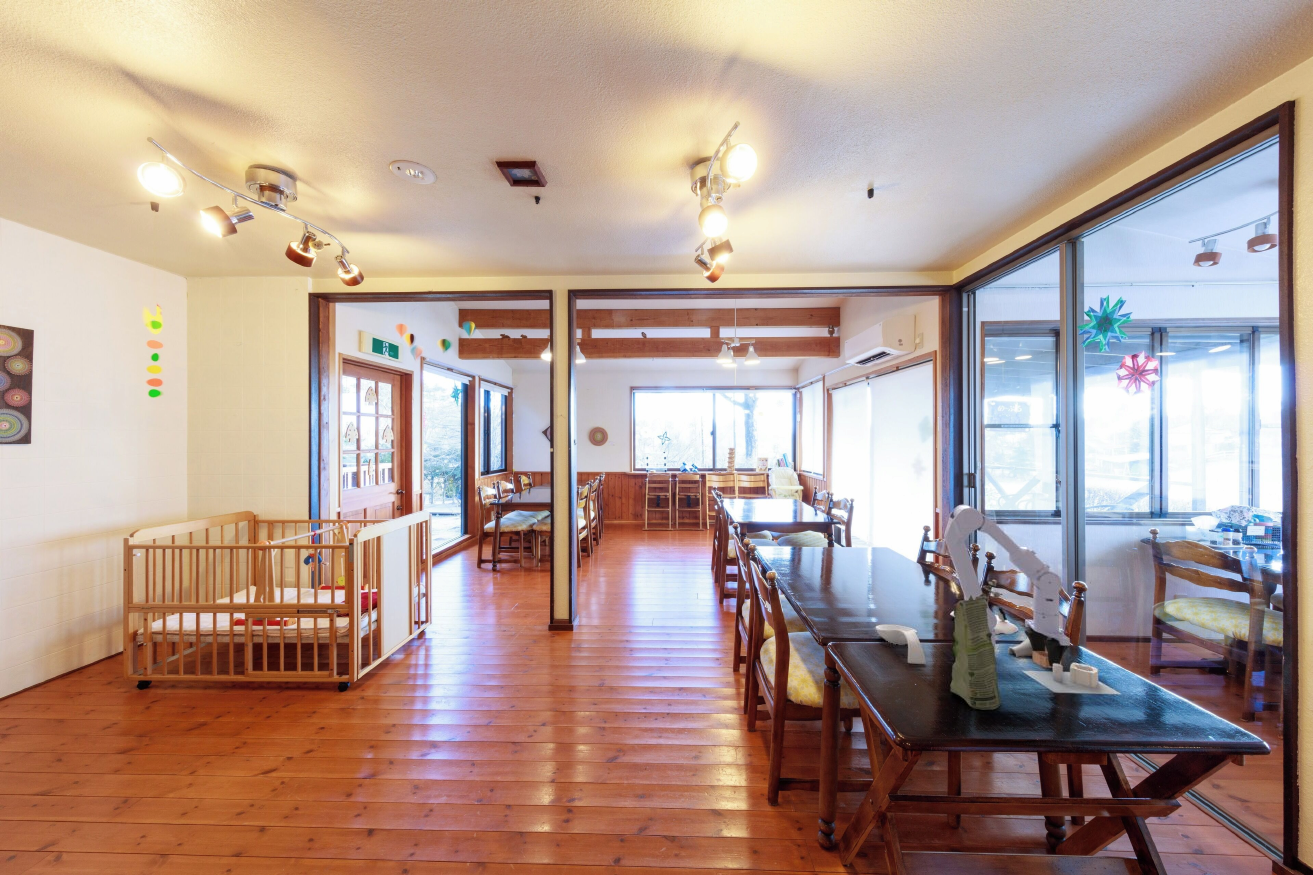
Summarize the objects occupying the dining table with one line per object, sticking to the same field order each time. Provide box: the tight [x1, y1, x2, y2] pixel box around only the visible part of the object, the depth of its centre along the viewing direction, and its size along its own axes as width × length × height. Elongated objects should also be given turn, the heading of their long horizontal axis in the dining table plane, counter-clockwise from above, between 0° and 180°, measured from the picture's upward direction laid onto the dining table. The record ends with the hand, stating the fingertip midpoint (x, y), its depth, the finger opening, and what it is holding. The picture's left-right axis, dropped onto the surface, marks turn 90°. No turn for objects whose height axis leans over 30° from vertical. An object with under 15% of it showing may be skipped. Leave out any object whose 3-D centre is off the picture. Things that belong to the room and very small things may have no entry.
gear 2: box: [1069, 662, 1099, 687], centre depth 130 cm, size 5×5×4 cm
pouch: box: [950, 592, 1002, 711], centre depth 122 cm, size 11×12×25 cm
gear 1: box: [1032, 651, 1062, 669], centre depth 140 cm, size 5×5×4 cm
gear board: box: [1022, 663, 1123, 695], centre depth 129 cm, size 16×12×5 cm
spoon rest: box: [875, 624, 927, 665], centre depth 154 cm, size 24×12×7 cm, turn 173°
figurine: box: [950, 579, 1019, 635], centre depth 175 cm, size 20×18×16 cm
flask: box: [1007, 637, 1047, 658], centre depth 147 cm, size 7×7×10 cm
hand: (1046, 661), depth 140 cm, fingers closed on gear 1, 5 cm apart
